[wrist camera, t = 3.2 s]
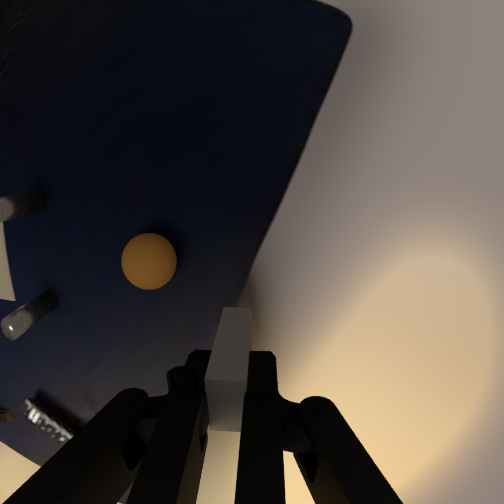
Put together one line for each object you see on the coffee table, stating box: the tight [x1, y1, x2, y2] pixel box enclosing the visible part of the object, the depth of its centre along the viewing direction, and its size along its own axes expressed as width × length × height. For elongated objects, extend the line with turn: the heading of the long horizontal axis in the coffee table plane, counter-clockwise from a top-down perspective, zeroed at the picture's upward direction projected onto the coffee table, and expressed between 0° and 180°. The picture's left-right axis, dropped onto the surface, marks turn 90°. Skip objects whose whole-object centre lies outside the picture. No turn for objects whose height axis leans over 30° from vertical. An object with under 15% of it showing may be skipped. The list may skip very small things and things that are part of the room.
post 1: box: [0, 191, 45, 222], centre depth 27 cm, size 3×3×9 cm
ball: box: [122, 233, 177, 290], centre depth 30 cm, size 6×6×6 cm
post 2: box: [1, 291, 58, 340], centre depth 30 cm, size 3×3×9 cm
